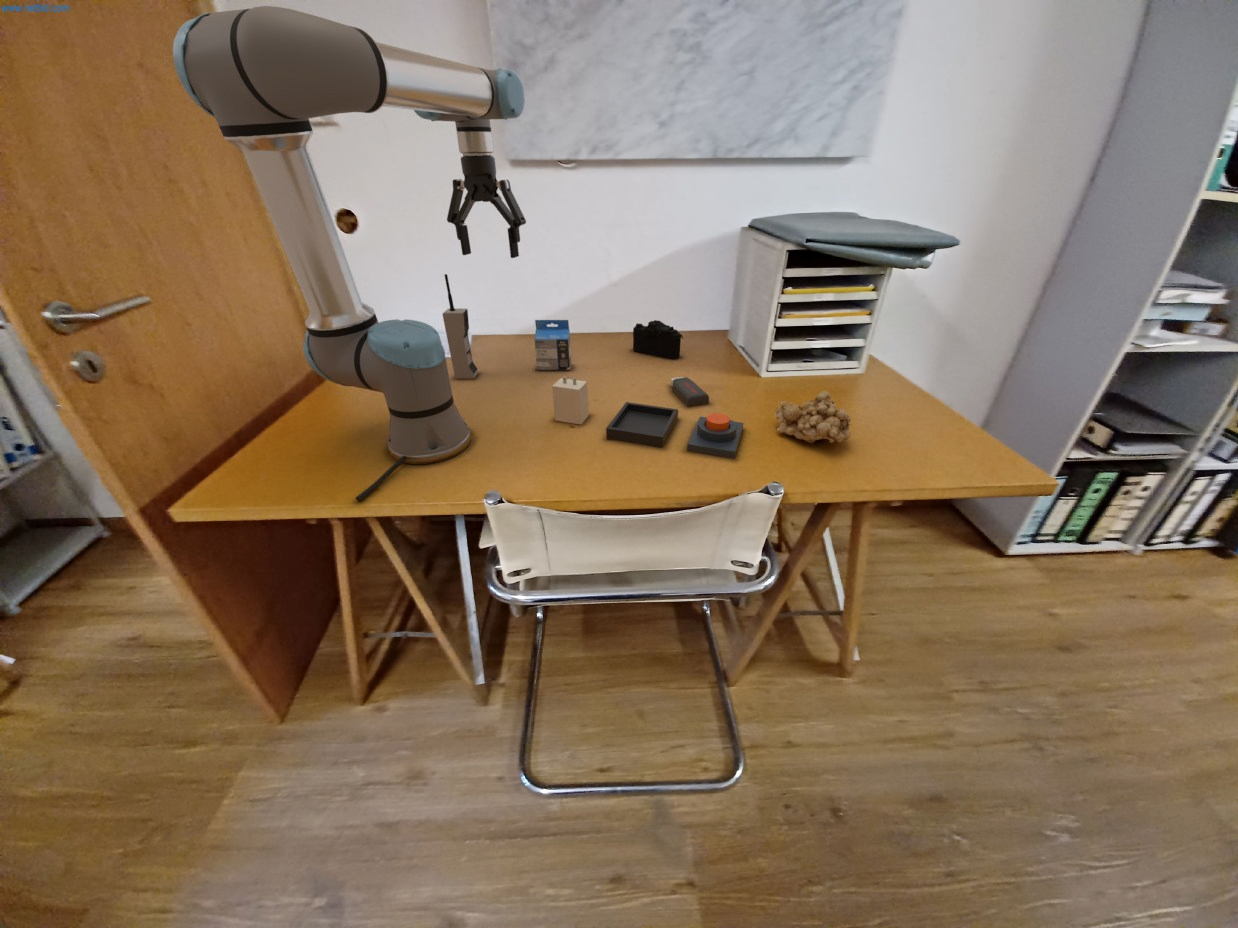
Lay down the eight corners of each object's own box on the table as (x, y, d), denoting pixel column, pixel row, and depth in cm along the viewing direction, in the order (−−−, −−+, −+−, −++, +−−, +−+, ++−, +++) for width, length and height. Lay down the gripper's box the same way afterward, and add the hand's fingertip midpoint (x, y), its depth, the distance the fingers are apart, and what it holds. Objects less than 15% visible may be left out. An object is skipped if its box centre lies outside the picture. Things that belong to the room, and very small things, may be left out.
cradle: (662, 448, 96) (663, 437, 95) (606, 439, 100) (606, 428, 98) (677, 419, 106) (678, 409, 105) (626, 412, 110) (626, 401, 108)
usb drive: (687, 407, 111) (688, 396, 110) (666, 386, 121) (667, 376, 119) (708, 404, 112) (709, 393, 111) (686, 384, 122) (687, 373, 121)
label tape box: (536, 370, 130) (531, 324, 124) (539, 365, 134) (534, 319, 127) (570, 371, 130) (567, 324, 123) (572, 365, 133) (569, 319, 127)
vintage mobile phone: (474, 379, 126) (456, 275, 112) (455, 379, 126) (434, 276, 113) (478, 373, 129) (461, 272, 116) (459, 373, 129) (440, 272, 116)
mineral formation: (825, 417, 106) (869, 448, 93) (766, 433, 105) (802, 466, 92) (826, 382, 102) (872, 410, 89) (765, 398, 101) (802, 428, 88)
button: (726, 433, 95) (727, 425, 94) (703, 429, 96) (704, 421, 95) (730, 423, 98) (731, 415, 97) (708, 419, 99) (708, 411, 98)
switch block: (734, 459, 93) (736, 443, 91) (686, 451, 95) (687, 435, 93) (742, 430, 102) (744, 414, 100) (699, 423, 105) (700, 408, 103)
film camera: (691, 350, 142) (693, 319, 137) (675, 361, 135) (677, 328, 130) (644, 341, 149) (645, 311, 144) (627, 351, 142) (628, 319, 137)
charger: (581, 424, 105) (578, 383, 100) (555, 420, 107) (551, 379, 101) (588, 415, 108) (586, 375, 103) (563, 411, 110) (560, 371, 105)
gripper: (534, 154, 112) (542, 255, 123) (440, 155, 119) (456, 250, 130) (518, 155, 106) (528, 261, 117) (420, 155, 113) (438, 255, 124)
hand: (490, 255), depth 124 cm, fingers open, 13 cm apart
